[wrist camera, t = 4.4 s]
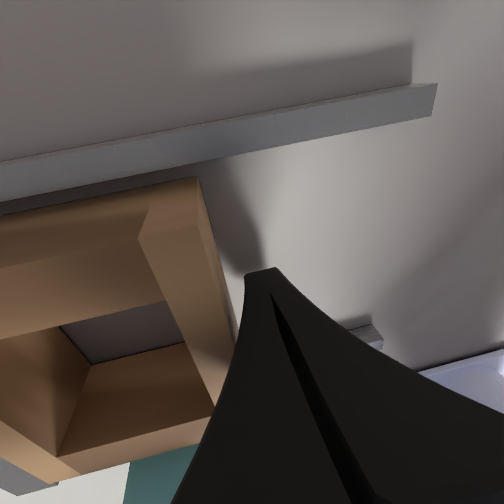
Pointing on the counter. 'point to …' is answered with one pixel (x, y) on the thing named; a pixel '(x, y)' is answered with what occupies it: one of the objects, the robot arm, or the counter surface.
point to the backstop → (203, 149)
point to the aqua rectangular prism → (157, 476)
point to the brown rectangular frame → (102, 303)
